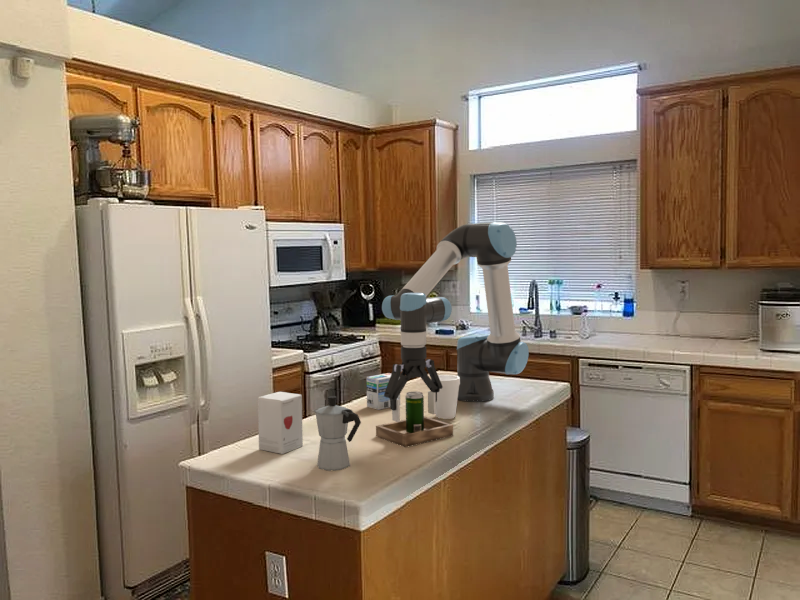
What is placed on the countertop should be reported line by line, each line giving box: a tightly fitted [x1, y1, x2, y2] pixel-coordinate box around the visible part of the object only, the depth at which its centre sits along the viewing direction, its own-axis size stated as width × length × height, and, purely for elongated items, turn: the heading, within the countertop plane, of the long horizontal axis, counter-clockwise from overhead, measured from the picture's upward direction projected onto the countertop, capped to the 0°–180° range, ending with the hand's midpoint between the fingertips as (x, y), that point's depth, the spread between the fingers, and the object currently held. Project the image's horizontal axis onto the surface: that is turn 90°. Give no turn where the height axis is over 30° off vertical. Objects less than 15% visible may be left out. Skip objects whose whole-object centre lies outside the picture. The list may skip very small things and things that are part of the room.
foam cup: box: [435, 374, 460, 420], centre depth 217 cm, size 10×9×13 cm
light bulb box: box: [366, 372, 401, 410], centre depth 232 cm, size 11×7×11 cm, turn 132°
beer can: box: [405, 391, 425, 434], centre depth 195 cm, size 5×5×12 cm
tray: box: [375, 415, 454, 448], centre depth 195 cm, size 18×14×3 cm
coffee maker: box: [312, 395, 362, 472], centre depth 169 cm, size 15×9×18 cm, turn 58°
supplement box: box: [257, 391, 304, 455], centre depth 184 cm, size 9×9×15 cm
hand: (414, 417), depth 195 cm, fingers open, 13 cm apart
